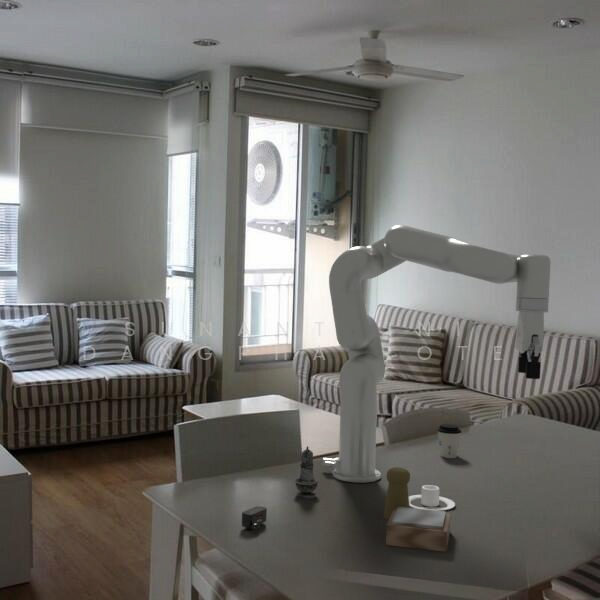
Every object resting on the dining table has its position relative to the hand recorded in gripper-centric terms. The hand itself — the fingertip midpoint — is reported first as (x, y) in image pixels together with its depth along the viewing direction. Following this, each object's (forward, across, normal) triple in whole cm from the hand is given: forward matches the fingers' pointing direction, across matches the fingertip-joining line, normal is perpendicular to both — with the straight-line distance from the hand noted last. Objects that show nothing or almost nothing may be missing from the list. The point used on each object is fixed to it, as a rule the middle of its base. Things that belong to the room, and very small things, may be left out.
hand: (528, 375), depth 193 cm
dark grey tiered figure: (+31, +8, -53) cm, 61 cm away
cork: (+31, +21, -31) cm, 48 cm away
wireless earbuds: (+31, +31, -62) cm, 76 cm away
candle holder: (+31, +9, -23) cm, 40 cm away
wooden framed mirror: (+30, +33, -27) cm, 53 cm away
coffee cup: (+30, -34, -15) cm, 48 cm away
